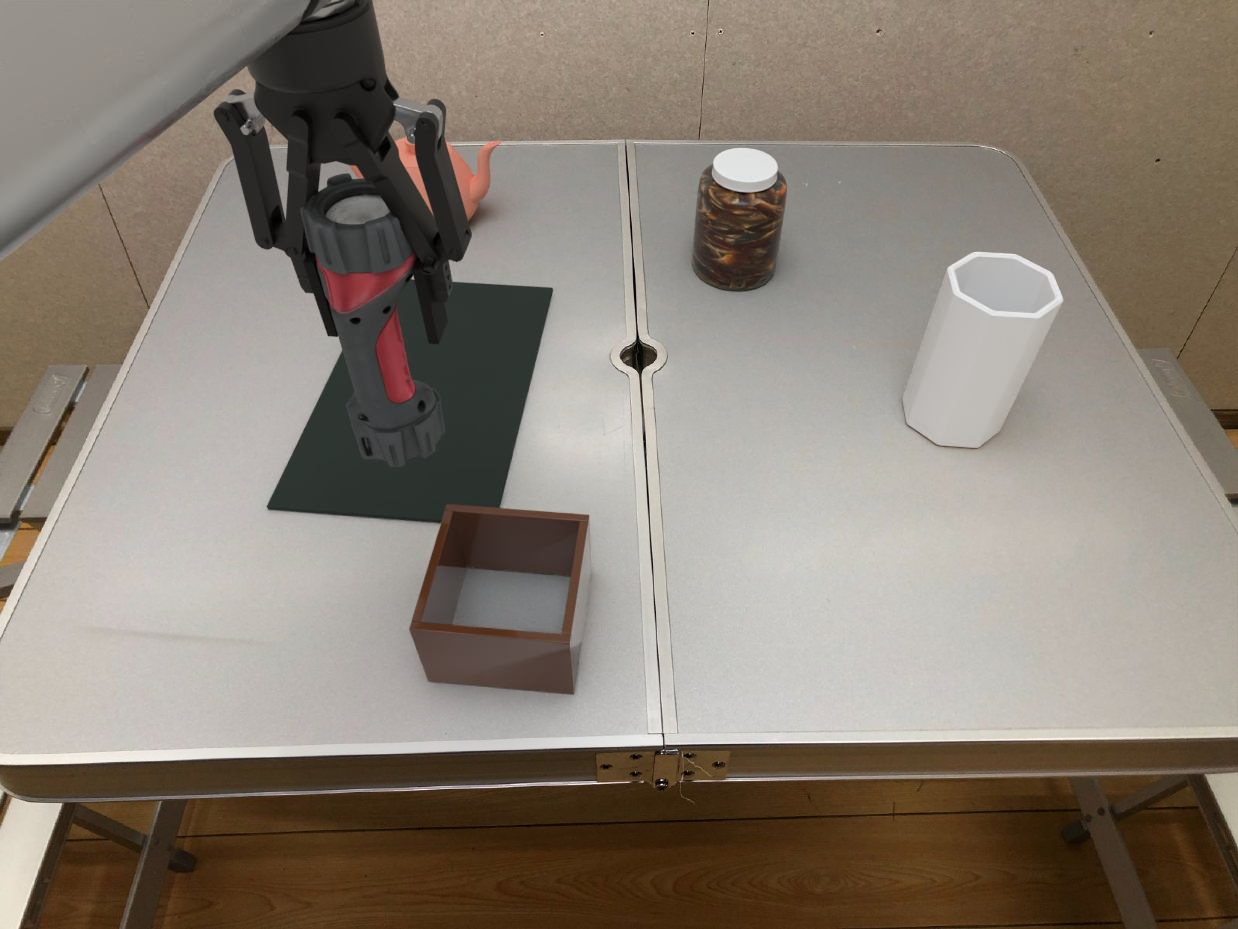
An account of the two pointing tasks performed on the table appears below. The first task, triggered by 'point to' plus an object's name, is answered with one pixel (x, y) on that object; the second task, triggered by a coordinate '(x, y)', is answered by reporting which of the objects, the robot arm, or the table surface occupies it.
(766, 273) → the jar
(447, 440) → the mat
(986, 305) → the cup
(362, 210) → the flashlight
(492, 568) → the brown open box
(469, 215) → the teapot
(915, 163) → the table surface
